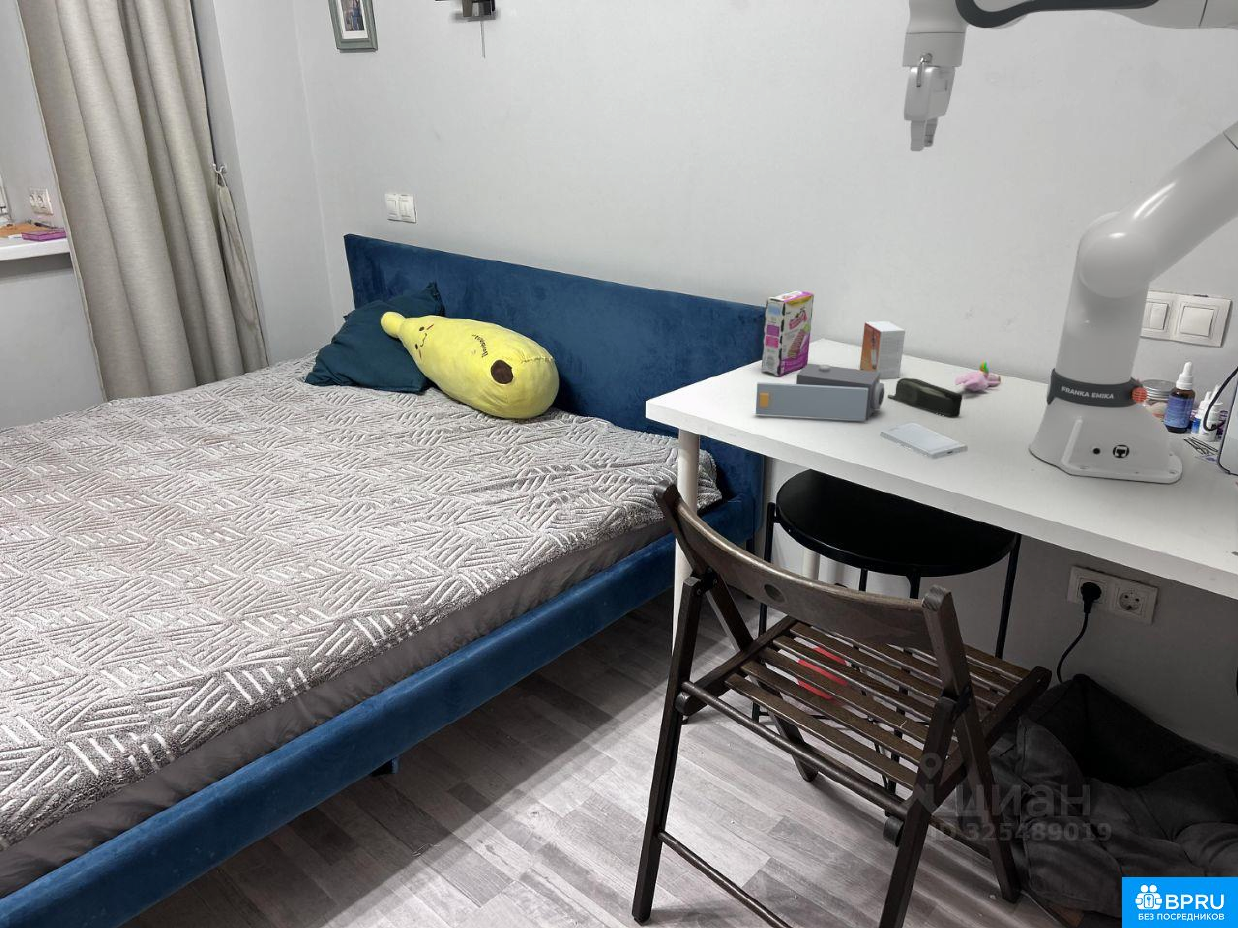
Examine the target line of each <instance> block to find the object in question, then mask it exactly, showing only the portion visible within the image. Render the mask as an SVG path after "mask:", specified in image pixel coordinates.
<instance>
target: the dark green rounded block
mask: <svg viewBox="0 0 1238 928" xmlns="http://www.w3.org/2000/svg"><path fill="white" fill-rule="evenodd" d="M887 398H888V399H892V400H894V401H898V402H901V403H904V404H907V405H908V406H909V405H910V406H912V407H916V408H918V407H919V408H918V409H921V408H922V410H924V411H927V412H931V413H934V414H936V413H938V414H937V415H939V414H941V415H940V416H942V415H944V416H943V417H946V416H947V417H946V418H956V416H957V417H959V416H960V413H961V406H962V401H963V395H962V394H961V393H959V392H955V391H953V390H950V389H946V388H944V387H941V386H938V385H934V384H932V383H930V382H928V381H924V380H922V379H918V378H912V377H911V378H910V377H902V378H900V379H898V381H896V385H895V394H894V395H892V394H888V395H887Z"/></svg>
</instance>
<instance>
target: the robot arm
mask: <svg viewBox="0 0 1238 928" xmlns="http://www.w3.org/2000/svg"><path fill="white" fill-rule="evenodd" d="M908 7H909V13H910V14H909V20H908V21H909V22H908V24H907V27H906V30H905V36H904V37H905V38H904V46H903V53H902V54H903V55H902V64H901V65H902V67H904V68H906V67H909V74H908V79H907V83H906V84H907V86H906V91H905V99H904V106H903V119H904V121H910V140H911V141H910V151H911V152H921V151H923V149H925V148H931V147H932V146H933V145H934V141H935V135H936V131H937V127H938V123H939V117H944V116H946V114H947V110H948V108H949V105H950V100H951V96H952V91H953V87H954V82H955V74H956V68H959V67H961V66H962V65H963V58H964V49H965V43H966V33H967V28H968V27H969V26H973V27H976V28H979V29H990V30H991V29H992V30H1004V29H1008V28H1011V27H1013V26H1015V25H1017V24H1019V23H1020V22H1021V21H1023V20H1024V19H1025V18H1027V16H1028V15H1030V14H1035V13H1041V12H1042V13H1043V12H1044V13H1045V12H1075V11H1076V12H1077V11H1082V12H1083V11H1100V12H1102V11H1103V12H1108V13H1112V14H1117V15H1119V16H1123V17H1126V18H1128V19H1130V20H1132V21H1134V22H1137V23H1139V24H1142V25H1146V26H1150V27H1155V28H1156V27H1157V28H1164V29H1175V30H1197V29H1198V30H1207V29H1210V30H1212V29H1231V30H1235V31H1236V30H1237V31H1238V0H908ZM1237 217H1238V120H1237V121H1236V122H1234V123H1233V124H1231V125H1230V126H1228V127H1227V128H1226V129H1224V130H1223V131H1222V132H1220V133H1218V134H1217V135H1216V136H1214V137H1213V138H1212V139H1210V140H1209V141H1207V143H1205V144H1204V145H1202V146H1201V147H1200V148H1198V149H1197V150H1195V151H1194V152H1193V153H1191V154H1189V156H1187V157H1185V158H1184V159H1183V160H1182V161H1181V162H1179V163H1177V164H1176V165H1175V166H1174V167H1172V168H1171V169H1169V170H1168V171H1167V172H1165V174H1164V175H1162V176H1161V177H1160V178H1159V179H1158V180H1157V181H1156V182H1154V183H1153V184H1152V185H1151V186H1150V187H1148V188H1147V189H1146V190H1145V191H1143V192H1142V193H1141V194H1140V195H1138V196H1137V197H1136V198H1135V199H1134V200H1132V201H1131V202H1130V203H1129V204H1127V205H1126V206H1125V207H1124V208H1122V209H1121V210H1120V211H1113V212H1109V213H1106V214H1103V215H1101V216H1099V217H1098V218H1096V219H1095V220H1093V221H1092V222H1091V223H1089V224H1088V226H1087V227H1086V228H1085V230H1084V231H1083V233H1082V234H1081V236H1080V238H1079V242H1078V246H1077V251H1076V256H1075V262H1074V267H1073V273H1072V279H1071V284H1070V289H1069V295H1068V300H1067V303H1066V304H1067V305H1066V311H1065V316H1064V321H1063V326H1062V331H1061V337H1060V340H1059V341H1060V342H1059V346H1058V350H1057V351H1058V352H1057V358H1056V363H1055V367H1054V368H1052V371H1051V372H1050V373H1051V375H1050V376H1049V380H1048V384H1047V390H1046V396H1045V398H1046V406H1045V410H1044V413H1043V417H1042V419H1041V420H1040V421H1041V422H1040V423H1039V427H1038V430H1037V431H1036V433H1035V435H1034V438H1033V440H1031V443H1030V445H1029V450H1030V452H1031V454H1033V455H1034V456H1035V457H1037V458H1038V459H1040V460H1042V461H1044V462H1046V463H1049V464H1051V465H1054V466H1056V467H1058V468H1060V469H1061V470H1062V471H1064V472H1066V473H1067V474H1069V475H1070V474H1071V475H1075V476H1084V477H1092V478H1093V477H1096V478H1107V479H1115V480H1116V479H1117V480H1126V481H1127V480H1129V481H1139V482H1150V483H1159V484H1160V483H1161V484H1173V483H1175V482H1176V481H1178V480H1179V479H1180V478H1181V476H1182V474H1183V473H1182V472H1183V464H1182V461H1181V459H1180V457H1179V455H1177V454H1176V453H1174V452H1173V451H1171V438H1170V437H1171V436H1170V434H1169V430H1168V428H1167V426H1166V424H1164V422H1162V421H1161V419H1160V418H1158V417H1157V416H1156V415H1155V414H1154V413H1152V411H1151V410H1149V409H1148V408H1147V407H1146V406H1145V405H1143V404H1142V403H1144V402H1145V401H1146V400H1147V398H1148V393H1147V390H1146V388H1144V385H1143V384H1142V382H1141V380H1140V379H1139V378H1137V379H1136V378H1134V377H1133V376H1132V373H1133V370H1134V365H1135V361H1136V357H1137V352H1138V347H1139V343H1140V339H1141V335H1142V329H1143V323H1144V318H1145V317H1144V316H1145V311H1146V305H1147V299H1148V294H1149V289H1150V284H1151V283H1152V282H1154V280H1156V279H1157V278H1159V277H1160V276H1161V275H1163V274H1164V273H1165V272H1167V271H1168V270H1169V269H1171V268H1172V267H1174V266H1175V265H1176V264H1177V263H1178V262H1180V261H1181V260H1182V259H1183V258H1184V257H1186V256H1187V255H1188V254H1190V253H1191V252H1192V251H1193V250H1194V249H1195V248H1197V247H1198V246H1199V245H1201V244H1202V243H1203V242H1204V241H1205V240H1207V239H1208V238H1209V237H1211V236H1212V235H1213V234H1215V233H1216V232H1217V231H1218V230H1220V229H1221V228H1223V227H1224V226H1226V225H1227V224H1228V223H1230V222H1231V221H1233V220H1234V219H1235V218H1237Z"/></svg>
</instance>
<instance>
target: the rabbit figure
mask: <svg viewBox="0 0 1238 928" xmlns="http://www.w3.org/2000/svg"><path fill="white" fill-rule="evenodd" d="M987 364H988V362H987V361H984V362H981V364H980V365H979V370H980V372H982V373H980V372H977V371H974V372H970V373H968V374H966V375H965V376H962V375H961V376H959V377H958V376H957V377H956V378H955V382H954V383H955V385H956V386H959V385H961V384H962V387H965V388H966V389H968V390H972V392H979V391H984V390H986V389H987V388H988V387H995V386H996V385H999V384H1000V383H1002V375H997V376H996V374H994V373H991V372H990V371H989V368H988V367H987V366H988V365H987Z"/></svg>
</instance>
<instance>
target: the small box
mask: <svg viewBox="0 0 1238 928" xmlns="http://www.w3.org/2000/svg"><path fill="white" fill-rule="evenodd" d="M862 334H863V335H862V343H861V344H862V345H861V353H860V354H861V355H860V361H859V362H860V363H859V369H860V370H865V371H873V372H881V373H880V380H881V379H882V380H884V379H897V378H900V373H901V368H902V358H903V353H904V352H903V350H904V344H905V343H904V342H905V336H906V335H905V334H906V330H905V329H904V328H901V327H900V326H898V325H896V324H895V323H892V322H890V321H889V320H883V321H882V320H880V321H879V320H878V321H864V327H863V333H862Z"/></svg>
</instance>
